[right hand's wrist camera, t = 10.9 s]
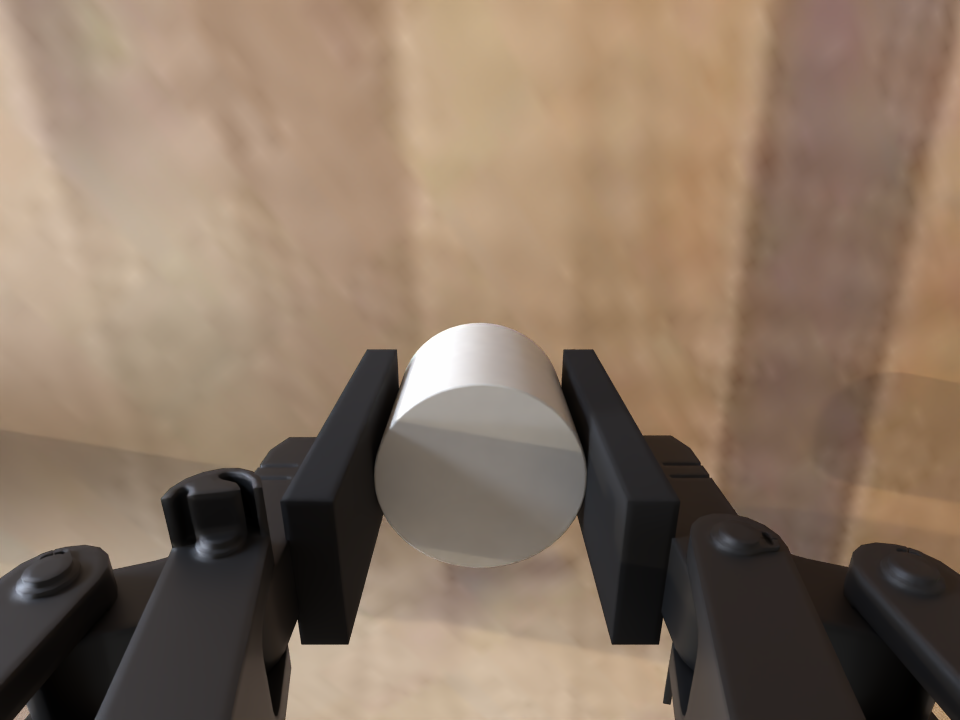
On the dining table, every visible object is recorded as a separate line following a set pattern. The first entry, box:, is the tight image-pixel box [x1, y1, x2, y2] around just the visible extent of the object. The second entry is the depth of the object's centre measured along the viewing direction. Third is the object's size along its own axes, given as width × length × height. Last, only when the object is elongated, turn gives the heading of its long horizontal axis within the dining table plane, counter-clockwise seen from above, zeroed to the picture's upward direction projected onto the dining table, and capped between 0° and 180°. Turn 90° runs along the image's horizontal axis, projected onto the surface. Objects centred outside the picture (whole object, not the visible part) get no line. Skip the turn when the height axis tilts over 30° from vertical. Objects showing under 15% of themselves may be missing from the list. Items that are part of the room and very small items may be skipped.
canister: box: [374, 323, 587, 568], centre depth 13 cm, size 4×4×4 cm
